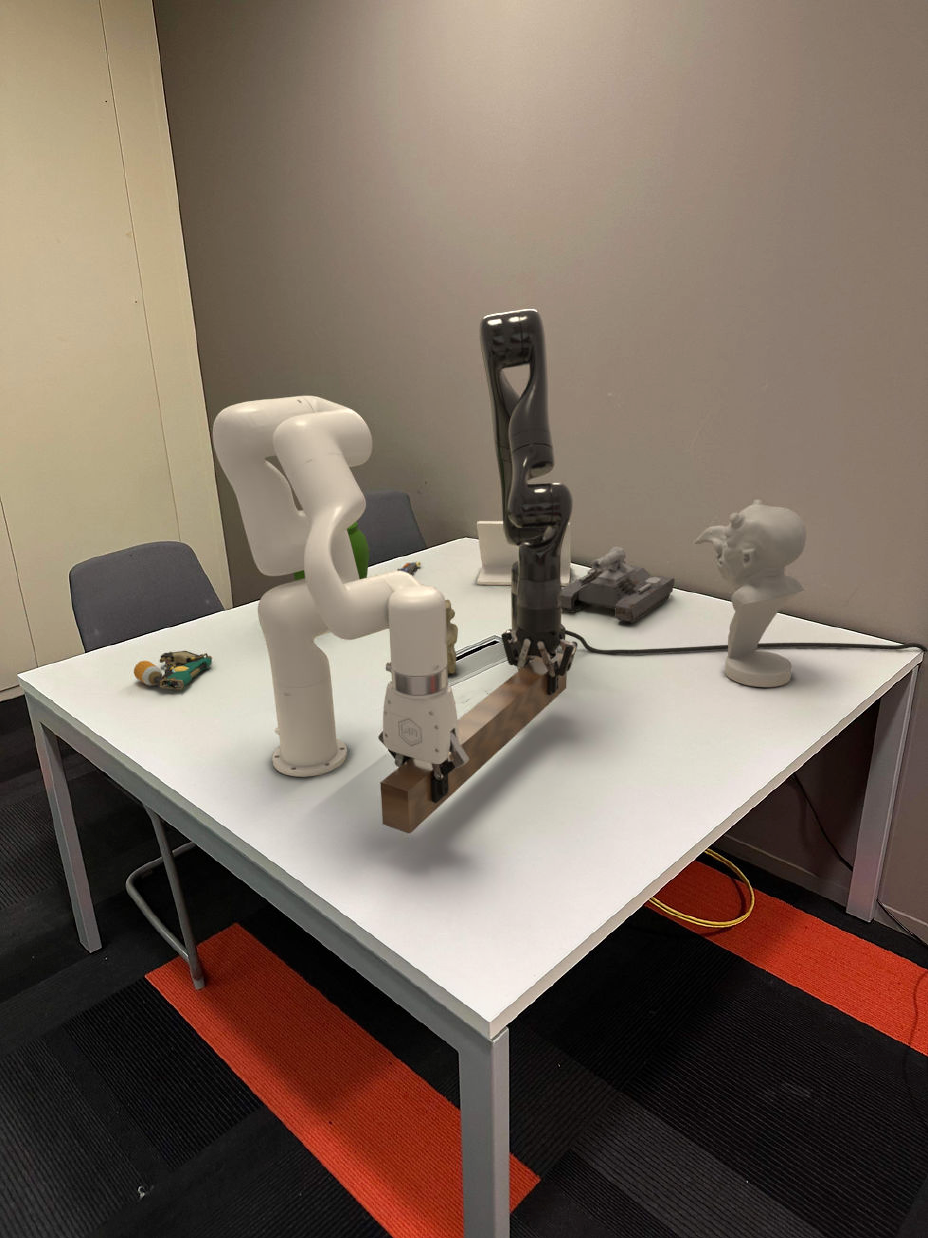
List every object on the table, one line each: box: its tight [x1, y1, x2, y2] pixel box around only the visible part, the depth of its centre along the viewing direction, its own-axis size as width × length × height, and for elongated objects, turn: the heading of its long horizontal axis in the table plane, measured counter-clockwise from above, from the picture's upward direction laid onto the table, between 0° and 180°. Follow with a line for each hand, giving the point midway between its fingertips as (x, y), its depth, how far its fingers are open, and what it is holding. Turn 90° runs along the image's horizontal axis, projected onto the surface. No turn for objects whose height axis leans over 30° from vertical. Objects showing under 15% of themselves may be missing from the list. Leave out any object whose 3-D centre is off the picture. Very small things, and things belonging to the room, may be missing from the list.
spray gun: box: [133, 650, 213, 690], centre depth 180 cm, size 4×17×15 cm
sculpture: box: [445, 599, 459, 675], centre depth 177 cm, size 6×7×15 cm
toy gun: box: [374, 561, 422, 576], centre depth 242 cm, size 3×19×10 cm
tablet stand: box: [476, 520, 572, 587], centre depth 236 cm, size 18×25×17 cm
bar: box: [379, 652, 568, 834], centre depth 136 cm, size 51×4×7 cm, turn 149°
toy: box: [561, 546, 676, 624], centre depth 212 cm, size 25×20×15 cm
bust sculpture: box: [693, 499, 807, 688], centre depth 171 cm, size 16×24×35 cm, turn 28°
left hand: (424, 791), depth 122 cm, fingers closed on bar, 4 cm apart
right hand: (538, 690), depth 151 cm, fingers closed on bar, 4 cm apart
